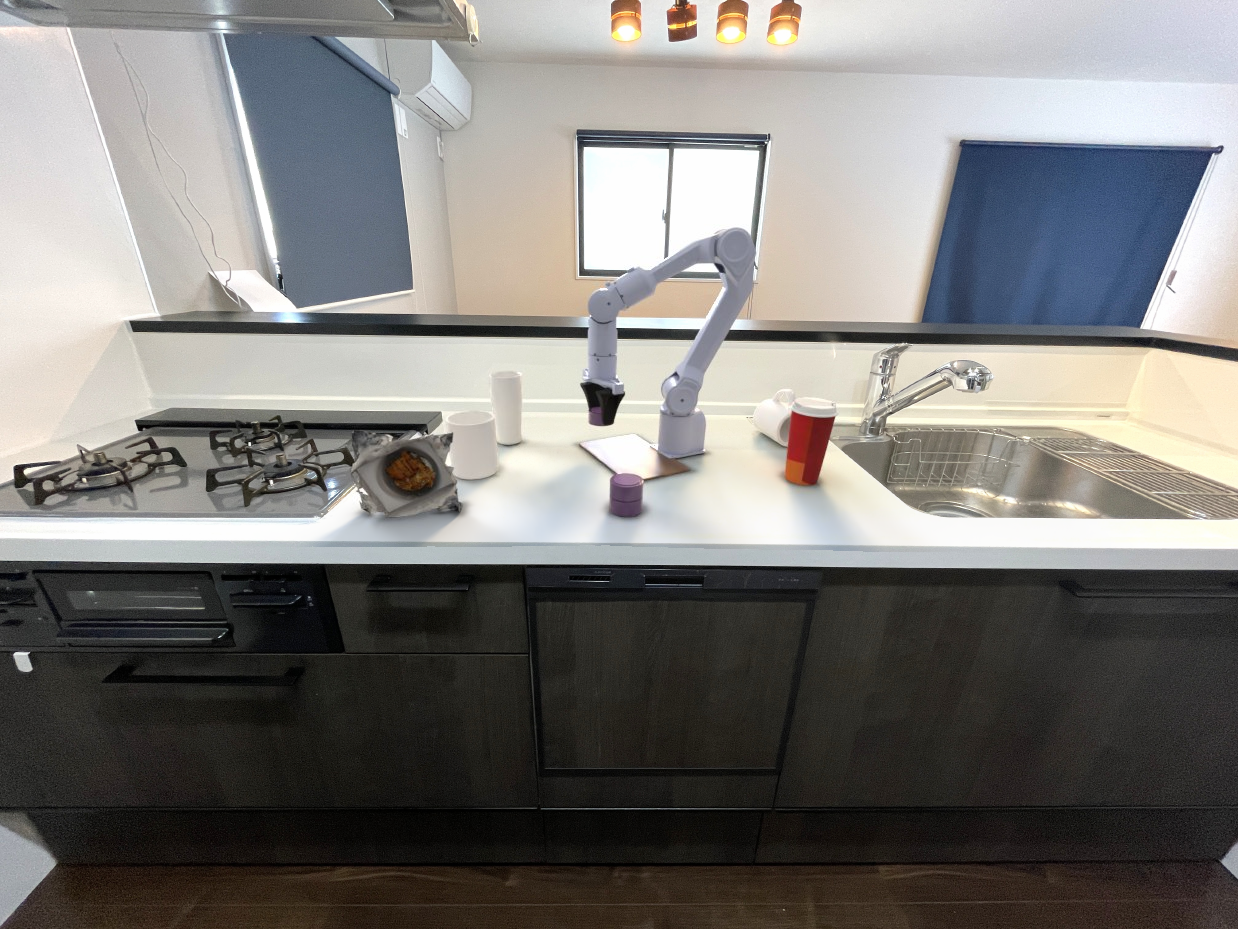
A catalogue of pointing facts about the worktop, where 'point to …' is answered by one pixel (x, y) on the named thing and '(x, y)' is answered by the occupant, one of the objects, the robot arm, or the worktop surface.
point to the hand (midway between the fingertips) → (601, 419)
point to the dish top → (595, 417)
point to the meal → (404, 474)
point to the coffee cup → (808, 438)
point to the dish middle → (626, 487)
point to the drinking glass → (507, 405)
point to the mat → (633, 457)
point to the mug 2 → (775, 417)
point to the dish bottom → (625, 507)
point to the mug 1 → (473, 444)
